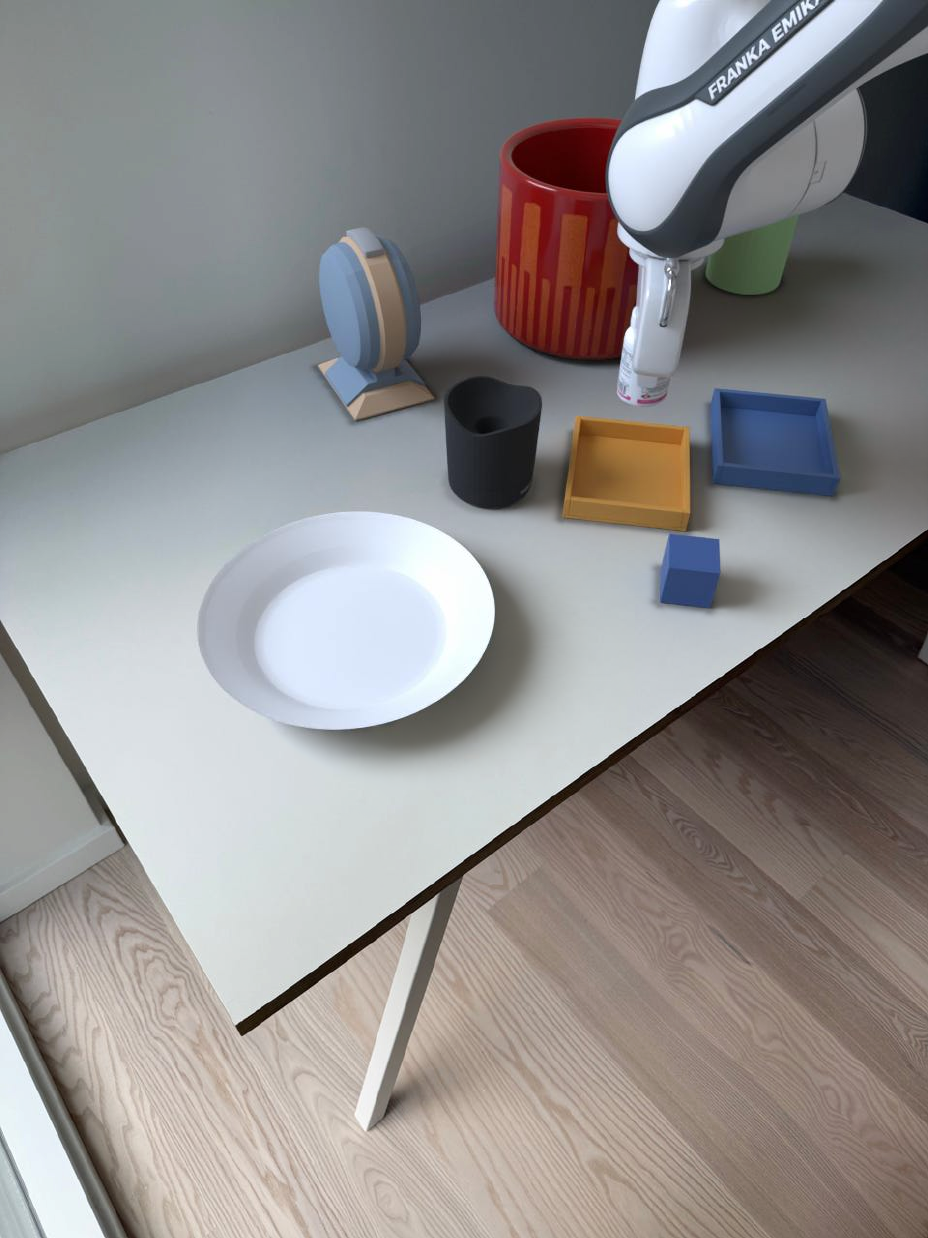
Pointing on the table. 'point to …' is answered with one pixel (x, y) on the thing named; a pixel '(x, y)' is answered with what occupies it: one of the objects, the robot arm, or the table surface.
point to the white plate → (345, 620)
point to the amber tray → (629, 473)
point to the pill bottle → (628, 378)
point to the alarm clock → (371, 324)
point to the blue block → (690, 570)
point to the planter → (562, 242)
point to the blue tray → (772, 442)
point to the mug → (752, 259)
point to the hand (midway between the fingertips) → (646, 365)
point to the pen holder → (491, 440)
